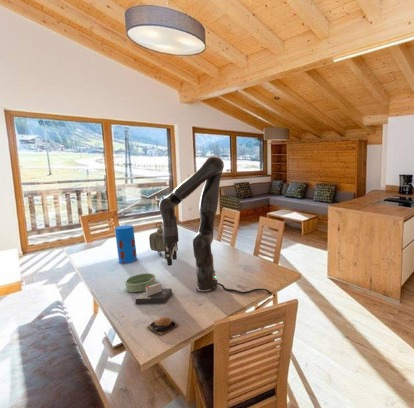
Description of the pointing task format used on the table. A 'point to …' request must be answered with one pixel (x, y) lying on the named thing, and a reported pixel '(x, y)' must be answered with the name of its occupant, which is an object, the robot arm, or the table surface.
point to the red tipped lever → (153, 289)
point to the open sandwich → (162, 325)
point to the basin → (140, 282)
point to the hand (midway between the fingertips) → (172, 262)
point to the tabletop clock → (157, 241)
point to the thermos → (125, 244)
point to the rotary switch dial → (154, 297)
